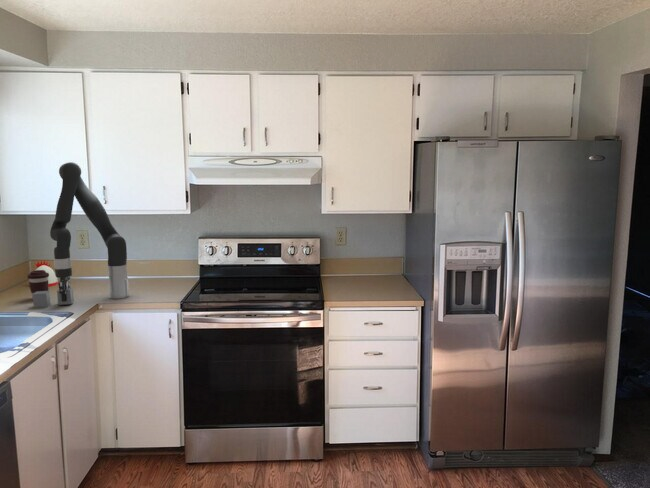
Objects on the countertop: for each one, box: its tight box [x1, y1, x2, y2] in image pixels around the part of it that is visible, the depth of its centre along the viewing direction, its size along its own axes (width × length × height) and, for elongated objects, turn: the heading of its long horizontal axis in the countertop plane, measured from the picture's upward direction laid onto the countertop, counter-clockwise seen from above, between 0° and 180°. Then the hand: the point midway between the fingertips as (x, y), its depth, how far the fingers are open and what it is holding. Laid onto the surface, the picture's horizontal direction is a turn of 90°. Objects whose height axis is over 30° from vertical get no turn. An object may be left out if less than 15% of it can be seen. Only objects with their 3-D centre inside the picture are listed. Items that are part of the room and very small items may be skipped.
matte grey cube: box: [56, 287, 75, 306], centre depth 266 cm, size 6×6×7 cm
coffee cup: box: [26, 269, 49, 300], centre depth 277 cm, size 10×10×15 cm
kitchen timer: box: [34, 259, 59, 288], centre depth 311 cm, size 14×14×15 cm
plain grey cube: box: [32, 290, 51, 309], centre depth 264 cm, size 6×6×7 cm
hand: (65, 299), depth 266 cm, fingers closed on matte grey cube, 6 cm apart
